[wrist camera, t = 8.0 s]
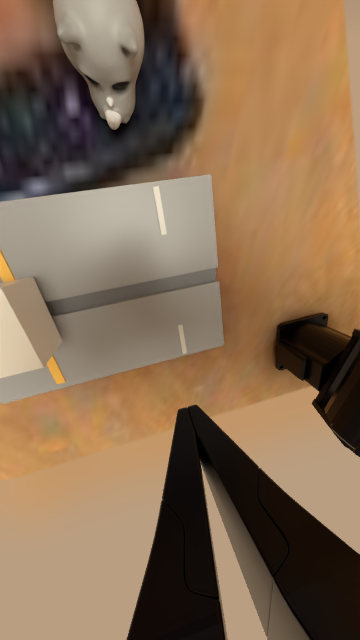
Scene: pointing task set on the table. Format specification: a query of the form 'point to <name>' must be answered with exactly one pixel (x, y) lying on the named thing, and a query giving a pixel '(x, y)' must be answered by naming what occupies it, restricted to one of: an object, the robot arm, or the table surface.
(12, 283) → the fader cap
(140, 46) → the chubby cartoon animal
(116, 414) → the table surface
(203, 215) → the console board
